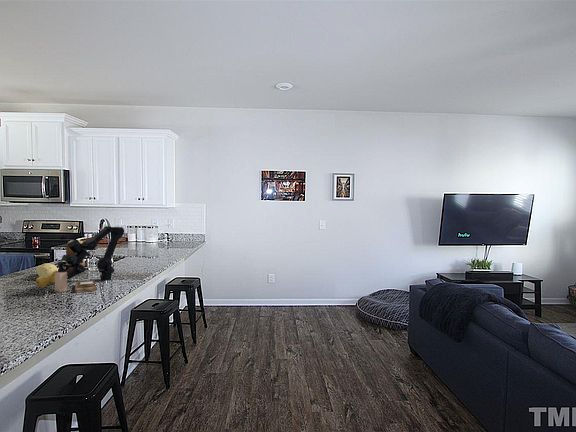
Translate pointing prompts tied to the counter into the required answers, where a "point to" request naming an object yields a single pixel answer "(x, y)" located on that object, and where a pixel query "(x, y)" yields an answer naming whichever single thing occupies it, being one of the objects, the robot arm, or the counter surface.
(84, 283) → the clay tile
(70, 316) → the counter surface
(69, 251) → the butternut squash
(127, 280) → the counter surface
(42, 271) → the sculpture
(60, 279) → the clay bar
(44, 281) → the decorative fish
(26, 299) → the counter surface
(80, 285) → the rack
